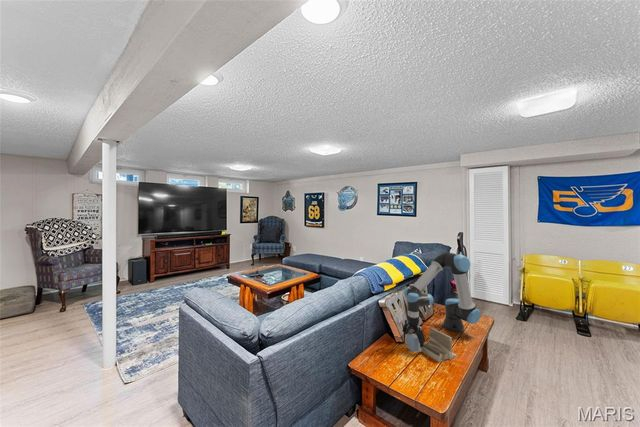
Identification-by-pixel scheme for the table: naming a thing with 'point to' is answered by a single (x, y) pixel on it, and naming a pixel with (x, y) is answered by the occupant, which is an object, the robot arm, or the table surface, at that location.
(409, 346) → the grey rectangular block
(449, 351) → the grey slotted stand
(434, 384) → the table surface
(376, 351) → the table surface
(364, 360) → the table surface
